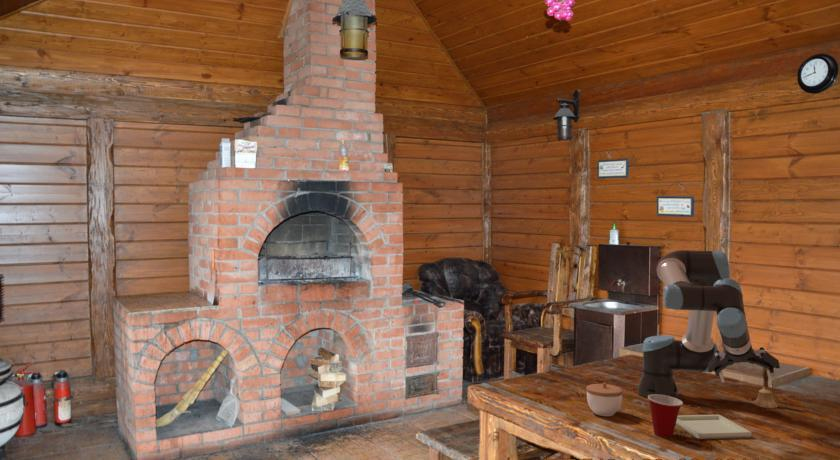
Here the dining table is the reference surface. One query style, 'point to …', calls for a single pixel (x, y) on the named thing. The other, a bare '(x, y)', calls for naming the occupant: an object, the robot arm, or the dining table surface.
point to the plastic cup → (664, 414)
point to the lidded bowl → (604, 398)
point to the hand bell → (765, 394)
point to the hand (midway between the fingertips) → (745, 377)
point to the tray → (711, 427)
